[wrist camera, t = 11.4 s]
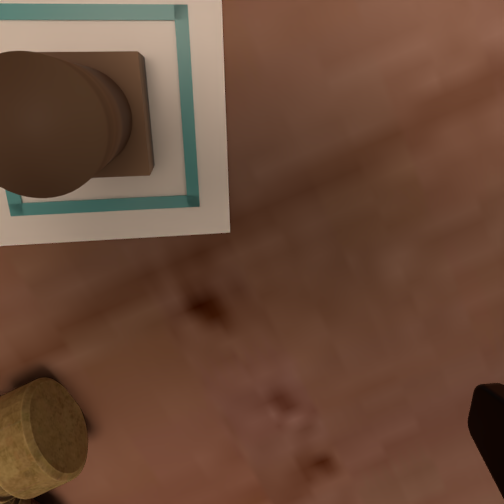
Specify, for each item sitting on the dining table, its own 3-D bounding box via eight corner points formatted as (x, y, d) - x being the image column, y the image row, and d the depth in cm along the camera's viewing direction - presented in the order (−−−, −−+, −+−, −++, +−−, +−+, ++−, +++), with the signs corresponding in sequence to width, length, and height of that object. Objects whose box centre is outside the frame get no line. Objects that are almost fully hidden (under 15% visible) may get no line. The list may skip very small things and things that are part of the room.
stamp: (144, 57, 16) (113, 29, 9) (154, 165, 18) (133, 210, 11) (31, 58, 16) (-89, 29, 9) (50, 169, 17) (-41, 219, 10)
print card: (219, -33, 16) (220, -36, 16) (229, 231, 19) (230, 233, 19) (-79, -38, 15) (-85, -41, 14) (-13, 245, 18) (-16, 247, 18)
